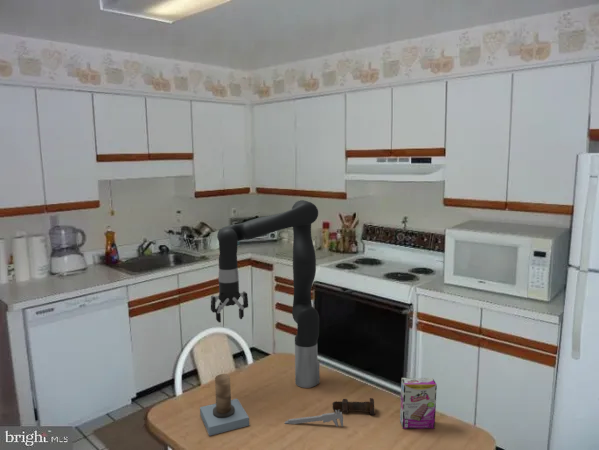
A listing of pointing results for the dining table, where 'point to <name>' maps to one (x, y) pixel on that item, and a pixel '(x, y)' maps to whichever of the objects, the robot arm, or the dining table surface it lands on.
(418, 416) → the candy bar box
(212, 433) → the board
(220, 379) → the peg
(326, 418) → the caliper
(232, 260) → the robot arm
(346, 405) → the bolt
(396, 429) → the dining table surface
